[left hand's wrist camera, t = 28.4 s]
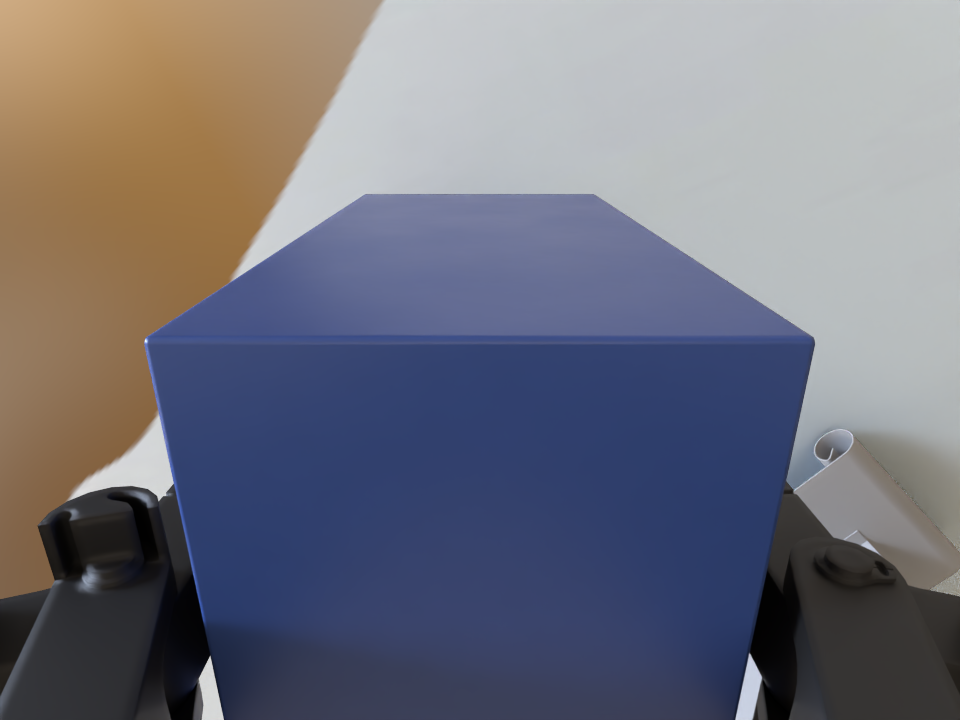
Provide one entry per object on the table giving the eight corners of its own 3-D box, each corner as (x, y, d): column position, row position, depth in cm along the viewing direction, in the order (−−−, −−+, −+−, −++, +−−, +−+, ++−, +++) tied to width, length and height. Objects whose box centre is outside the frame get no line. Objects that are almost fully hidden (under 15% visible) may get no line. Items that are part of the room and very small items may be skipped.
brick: (595, 193, 16) (819, 338, 5) (577, 465, 19) (699, 898, 8) (363, 194, 16) (138, 337, 5) (381, 465, 19) (259, 898, 8)
